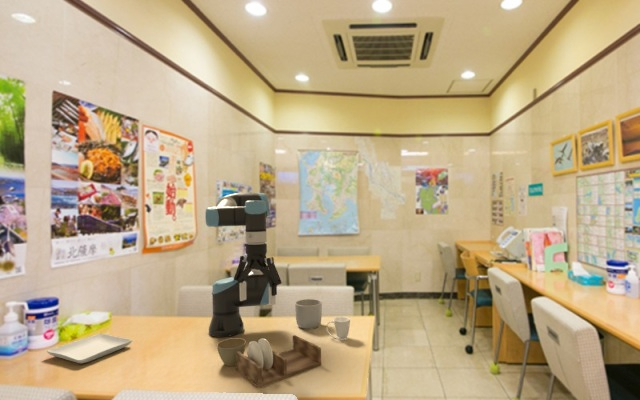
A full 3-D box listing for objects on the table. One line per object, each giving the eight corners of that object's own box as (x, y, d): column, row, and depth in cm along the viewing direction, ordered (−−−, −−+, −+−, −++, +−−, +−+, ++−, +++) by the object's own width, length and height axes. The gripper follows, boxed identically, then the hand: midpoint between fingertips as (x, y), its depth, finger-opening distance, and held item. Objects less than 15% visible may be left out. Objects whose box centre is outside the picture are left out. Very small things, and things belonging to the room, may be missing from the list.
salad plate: (134, 347, 144) (134, 338, 144) (80, 369, 124) (80, 359, 125) (100, 340, 153) (100, 332, 153) (45, 360, 133) (45, 350, 133)
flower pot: (236, 355, 133) (235, 335, 133) (251, 362, 126) (251, 342, 126) (211, 363, 125) (211, 343, 126) (227, 372, 118) (226, 350, 119)
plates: (247, 367, 119) (247, 337, 120) (258, 363, 122) (258, 334, 122) (261, 378, 112) (261, 346, 112) (273, 374, 114) (272, 342, 114)
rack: (236, 369, 120) (236, 351, 120) (295, 351, 135) (294, 335, 135) (259, 387, 108) (258, 367, 108) (321, 365, 122) (320, 347, 122)
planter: (322, 330, 157) (321, 305, 158) (294, 331, 157) (293, 306, 158) (322, 321, 170) (321, 298, 170) (296, 322, 170) (296, 299, 170)
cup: (349, 342, 143) (349, 321, 143) (325, 341, 144) (325, 321, 145) (351, 335, 150) (351, 316, 150) (328, 335, 151) (327, 316, 152)
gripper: (223, 243, 131) (224, 300, 130) (277, 245, 118) (278, 309, 118) (237, 241, 137) (238, 296, 137) (290, 243, 124) (291, 303, 124)
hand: (257, 302), depth 127 cm, fingers open, 13 cm apart
